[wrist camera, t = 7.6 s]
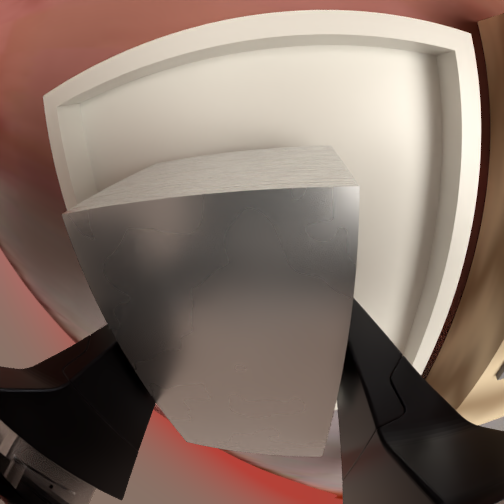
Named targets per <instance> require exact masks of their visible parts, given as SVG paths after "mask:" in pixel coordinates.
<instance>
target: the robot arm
mask: <svg viewBox="0 0 504 504" xmlns="http://www.w3.org/2000/svg"><path fill="white" fill-rule="evenodd" d="M402 355H403V354H402V353H401V352H400V350H399V349H398V348H397V347H396V346H395V345H394V343H393V342H392V341H391V340H390V339H389V337H388V336H387V335H386V334H385V333H384V332H383V330H382V329H381V328H380V327H379V326H378V325H377V323H376V322H375V321H374V320H373V319H372V318H371V317H370V315H369V314H368V313H367V312H366V311H365V310H364V309H363V307H362V306H361V305H360V304H359V303H358V302H357V301H356V300H355V298H354V297H353V305H352V313H351V321H350V328H349V335H348V342H347V348H346V354H345V360H344V365H343V371H342V376H341V381H340V386H339V391H338V396H337V407H338V418H339V430H340V443H341V460H342V480H343V482H342V483H343V504H504V431H500V430H495V429H490V428H486V427H481V426H479V425H475V424H473V423H471V422H469V421H468V420H466V419H465V418H464V417H462V416H461V415H460V414H459V413H458V412H457V411H456V410H455V409H454V408H453V407H452V406H451V405H450V404H449V403H448V402H447V401H446V400H445V399H444V398H443V397H442V396H441V395H440V394H439V393H438V392H437V391H436V390H435V389H434V388H433V387H432V386H431V385H430V384H429V383H428V382H427V381H426V380H425V379H424V378H423V377H422V376H421V375H420V374H419V373H418V372H417V370H416V369H415V368H414V367H413V366H412V365H411V364H410V362H409V361H408V360H407V359H406V357H405V356H402ZM155 403H156V402H155V400H154V399H153V397H152V396H151V394H150V393H149V391H148V390H147V389H146V387H145V386H144V384H143V383H142V381H141V380H140V378H139V376H138V375H137V373H136V372H135V370H134V369H133V367H132V365H131V364H130V362H129V361H128V359H127V357H126V356H125V354H124V352H123V350H122V349H121V347H120V345H119V344H118V342H117V340H116V338H115V336H114V335H113V333H112V331H111V329H110V327H109V325H108V324H107V325H106V326H104V327H102V328H101V329H99V330H97V331H96V332H94V333H93V334H91V336H90V335H89V336H87V337H86V338H84V339H83V340H81V341H79V342H78V343H76V344H74V345H73V346H71V347H69V348H67V349H66V350H63V351H62V352H60V353H58V354H56V355H54V356H52V357H50V358H48V359H46V360H44V361H43V362H41V363H39V364H37V365H35V366H33V367H30V368H25V369H14V368H6V367H0V504H89V503H90V501H91V498H92V496H93V494H94V492H95V489H96V488H97V489H99V490H101V491H103V492H105V493H107V494H109V495H111V496H113V497H115V498H118V499H120V500H122V499H123V497H124V494H125V491H126V487H127V484H128V481H129V478H130V475H131V472H132V469H133V466H134V463H135V460H136V457H137V454H138V450H139V448H140V445H141V442H142V439H143V437H144V433H145V431H146V428H147V425H148V422H149V420H150V417H151V414H152V411H153V409H154V406H155Z"/></svg>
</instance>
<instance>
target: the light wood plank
mask: <svg viewBox="0 0 504 504" xmlns="http://www.w3.org/2000/svg"><path fill="white" fill-rule="evenodd" d="M477 23H478V27H479V31H480V36H481V40H482V45H483V51H484V56H485V63H486V70H487V78H488V88H489V100H490V159H489V172H488V182H487V191H486V198H485V205H484V211H483V217H482V222H481V228H480V232H479V237H478V242H477V246H476V250H475V254H474V258H473V262H472V265H471V269H470V272H469V276H468V279H467V282H466V286H465V289H464V292H463V295H462V298H461V300H460V303H459V306H458V309H457V311H456V314H455V317H454V319H453V322H452V324H451V327H450V329H449V332H448V334H447V336H446V339H445V341H444V343H443V345H442V348H441V350H440V352H439V354H438V356H437V358H436V360H435V362H434V364H433V366H432V368H431V370H430V372H429V374H428V376H427V378H426V381H427V382H428V383H429V384H430V385H431V386H432V387H433V388H434V389H435V390H436V391H437V392H438V393H439V394H440V395H441V396H442V397H443V398H444V399H445V400H446V401H447V402H448V403H449V404H450V405H451V406H452V407H453V408H454V409H455V410H456V411H457V412H458V413H459V414H460V415H461V416H462V417H464V418H465V419H466V420H468V421H469V422H471V423H473V424H475V425H481V424H484V423H487V422H489V421H492V420H495V419H497V418H500V417H502V416H504V13H503V14H500V15H497V16H493V17H490V18H487V19H484V20H481V21H478V22H477Z"/></svg>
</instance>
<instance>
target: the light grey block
mask: <svg viewBox="0 0 504 504" xmlns="http://www.w3.org/2000/svg"><path fill="white" fill-rule="evenodd" d="M359 200H360V186H359V185H358V183H357V182H356V180H355V179H354V177H353V176H352V174H351V173H350V171H349V170H348V168H347V167H346V166H345V164H344V163H343V161H342V160H341V158H340V157H339V156H338V154H337V153H336V152H335V150H334V149H333V147H332V146H331V145H328V146H300V147H282V148H268V149H256V150H246V151H236V152H228V153H219V154H212V155H204V156H197V157H191V158H184V159H178V160H172V161H167V162H161V163H156V164H154V165H152V166H150V167H147V168H145V169H143V170H141V171H139V172H137V173H135V174H133V175H131V176H129V177H127V178H125V179H123V180H121V181H119V182H117V183H115V184H113V185H112V186H110V187H108V188H106V189H104V190H102V191H100V192H99V193H97V194H95V195H93V196H91V197H90V198H88V199H86V200H84V201H83V202H81V203H79V204H78V205H76V206H74V207H73V208H71V209H69V210H68V211H66V212H64V213H63V214H62V217H63V220H64V223H65V226H66V229H67V232H68V235H69V238H70V240H71V243H72V246H73V248H74V251H75V253H76V256H77V259H78V261H79V263H80V266H81V268H82V271H83V273H84V275H85V278H86V280H87V282H88V284H89V287H90V289H91V291H92V293H93V295H94V297H95V300H96V302H97V304H98V306H99V308H100V310H101V312H102V314H103V316H104V318H105V320H106V322H107V323H108V325H109V327H110V329H111V331H112V333H113V335H114V336H115V338H116V340H117V342H118V344H119V345H120V347H121V349H122V350H123V352H124V354H125V356H126V357H127V359H128V361H129V362H130V364H131V365H132V367H133V369H134V370H135V372H136V373H137V375H138V376H139V378H140V380H141V381H142V383H143V384H144V386H145V387H146V389H147V390H148V391H149V393H150V394H151V396H152V397H153V399H154V400H155V402H156V403H157V404H158V406H159V407H160V408H161V410H162V411H163V413H164V414H165V415H166V417H167V418H168V419H169V420H170V422H171V423H172V424H173V426H175V428H176V429H177V431H178V432H179V433H180V434H181V436H182V437H183V438H184V439H185V440H186V442H189V443H194V444H199V445H203V446H209V447H214V448H220V449H226V450H232V451H239V452H247V453H256V454H266V455H279V456H300V457H322V455H323V451H324V448H325V444H326V441H327V437H328V433H329V429H330V425H331V421H332V417H333V413H334V409H335V405H336V400H337V396H338V391H339V386H340V381H341V376H342V371H343V365H344V360H345V354H346V348H347V342H348V335H349V328H350V321H351V313H352V305H353V296H354V287H355V276H356V264H357V250H358V232H359Z"/></svg>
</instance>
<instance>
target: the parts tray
mask: <svg viewBox="0 0 504 504" xmlns="http://www.w3.org/2000/svg"><path fill="white" fill-rule="evenodd" d="M43 101H44V109H45V116H46V123H47V129H48V135H49V140H50V146H51V151H52V155H53V160H54V164H55V168H56V173H57V177H58V181H59V184H60V188H61V192H62V195H63V199H64V202H65V205H66V209H67V211H68V210H69V209H71V208H73V207H74V206H76V205H78V204H79V203H81V202H83V201H84V200H86V199H88V198H90V197H91V196H93V195H95V194H97V193H99V192H100V191H102V190H104V189H106V188H108V187H110V186H112V185H113V184H115V183H117V182H119V181H121V180H123V179H125V178H127V177H129V176H131V175H133V174H135V173H137V172H139V171H141V170H143V169H145V168H147V167H150V166H152V165H154V164H156V163H161V162H167V161H172V160H178V159H184V158H191V157H197V156H204V155H212V154H219V153H228V152H236V151H246V150H256V149H268V148H282V147H300V146H328V145H331V146H332V147H333V149H334V150H335V152H336V153H337V154H338V156H339V157H340V158H341V160H342V161H343V163H344V164H345V166H346V167H347V168H348V170H349V171H350V173H351V174H352V176H353V177H354V179H355V180H356V182H357V183H358V185H359V186H360V200H359V232H358V250H357V264H356V276H355V287H354V296H353V297H354V298H355V300H356V301H357V302H358V303H359V304H360V305H361V306H362V307H363V309H364V310H365V311H366V312H367V313H368V314H369V315H370V317H371V318H372V319H373V320H374V321H375V322H376V323H377V325H378V326H379V327H380V328H381V329H382V330H383V332H384V333H385V334H386V335H387V336H388V337H389V339H390V340H391V341H392V342H393V343H394V345H395V346H396V347H397V348H398V349H399V350H400V352H401V353H402V354H403V355H402V356H405V357H406V359H407V360H408V361H409V362H410V364H411V365H412V366H413V367H414V368H415V369H416V370H417V372H418V373H419V374H420V375H421V374H422V372H423V370H424V368H425V366H426V364H427V362H428V360H429V358H430V356H431V354H432V351H433V349H434V347H435V345H436V342H437V340H438V338H439V335H440V333H441V330H442V328H443V325H444V323H445V320H446V317H447V315H448V312H449V309H450V306H451V303H452V300H453V297H454V294H455V291H456V288H457V285H458V281H459V278H460V275H461V271H462V267H463V264H464V260H465V256H466V252H467V247H468V243H469V238H470V234H471V229H472V223H473V218H474V212H475V205H476V198H477V190H478V181H479V170H480V155H481V106H480V91H479V80H478V72H477V64H476V58H475V52H474V46H473V41H472V36H471V33H468V32H465V31H462V30H458V29H455V28H452V27H448V26H444V25H441V24H437V23H433V22H428V21H424V20H419V19H414V18H409V17H403V16H397V15H390V14H383V13H374V12H363V11H347V10H303V11H287V12H275V13H266V14H258V15H251V16H245V17H239V18H233V19H228V20H223V21H218V22H214V23H210V24H205V25H201V26H197V27H194V28H190V29H186V30H183V31H180V32H176V33H173V34H170V35H167V36H164V37H161V38H158V39H155V40H152V41H150V42H147V43H144V44H142V45H139V46H137V47H134V48H132V49H129V50H127V51H125V52H122V53H120V54H118V55H116V56H113V57H111V58H109V59H107V60H105V61H103V62H101V63H99V64H97V65H95V66H93V67H91V68H89V69H87V70H85V71H83V72H81V73H80V74H78V75H76V76H74V77H73V78H71V79H69V80H67V81H66V82H64V83H62V84H61V85H59V86H58V87H56V88H54V89H53V90H51V91H50V92H48V93H47V94H45V95H44V96H43ZM334 410H338V407H337V400H336V405H335V409H334Z"/></svg>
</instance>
